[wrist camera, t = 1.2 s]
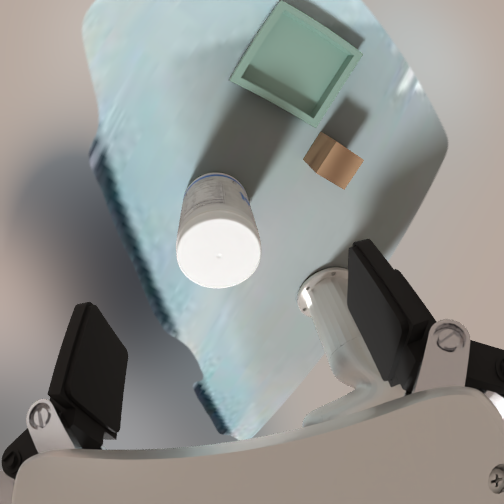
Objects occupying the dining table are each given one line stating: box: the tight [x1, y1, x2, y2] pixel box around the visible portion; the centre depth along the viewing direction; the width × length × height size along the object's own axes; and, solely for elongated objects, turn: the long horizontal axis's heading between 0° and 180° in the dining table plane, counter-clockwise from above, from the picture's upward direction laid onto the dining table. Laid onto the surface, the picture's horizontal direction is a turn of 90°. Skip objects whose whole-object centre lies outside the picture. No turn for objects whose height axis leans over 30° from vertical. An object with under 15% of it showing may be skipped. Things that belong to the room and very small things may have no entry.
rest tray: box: [229, 0, 363, 128], centre depth 34 cm, size 13×13×3 cm
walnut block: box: [303, 132, 364, 189], centre depth 41 cm, size 5×5×6 cm
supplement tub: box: [176, 173, 261, 288], centre depth 39 cm, size 10×10×15 cm
